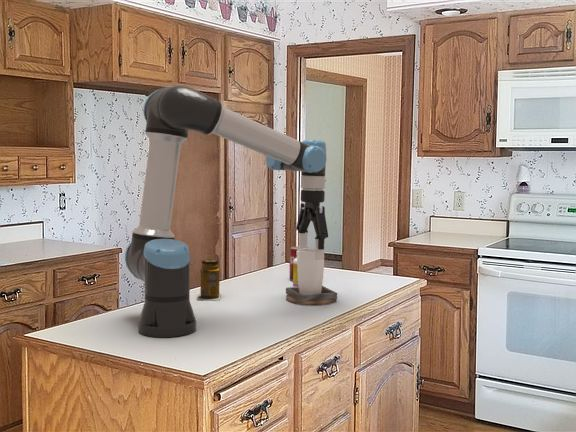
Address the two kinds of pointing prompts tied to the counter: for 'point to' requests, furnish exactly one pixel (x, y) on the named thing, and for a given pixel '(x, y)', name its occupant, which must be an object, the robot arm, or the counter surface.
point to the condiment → (209, 280)
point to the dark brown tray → (310, 297)
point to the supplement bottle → (295, 273)
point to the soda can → (292, 257)
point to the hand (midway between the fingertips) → (310, 256)
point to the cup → (309, 272)
